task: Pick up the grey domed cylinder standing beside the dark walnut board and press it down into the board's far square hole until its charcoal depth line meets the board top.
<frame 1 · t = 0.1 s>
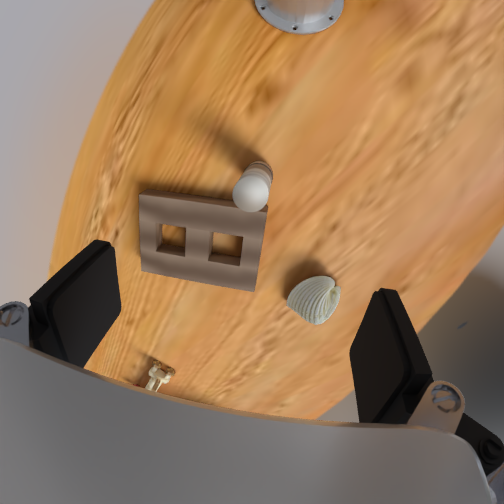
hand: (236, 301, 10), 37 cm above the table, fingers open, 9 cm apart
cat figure: (150, 385, 73), on the table
seashell: (313, 286, 53), on the table
grey domed cylinder: (259, 172, 45), on the table
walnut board: (201, 236, 51), on the table
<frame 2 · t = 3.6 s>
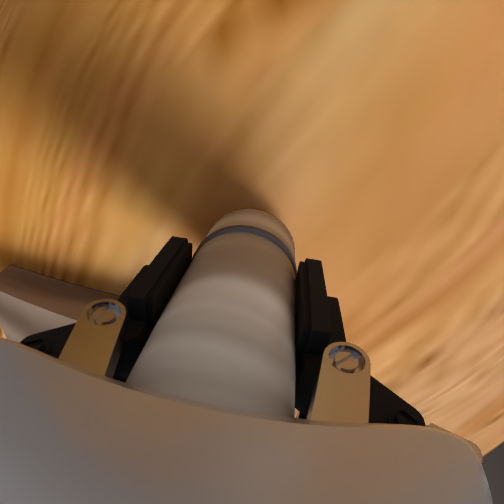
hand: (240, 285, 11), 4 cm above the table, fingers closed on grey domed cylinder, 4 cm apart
grey domed cylinder: (252, 241, 15), on the table, touching gripper
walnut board: (127, 368, 21), on the table
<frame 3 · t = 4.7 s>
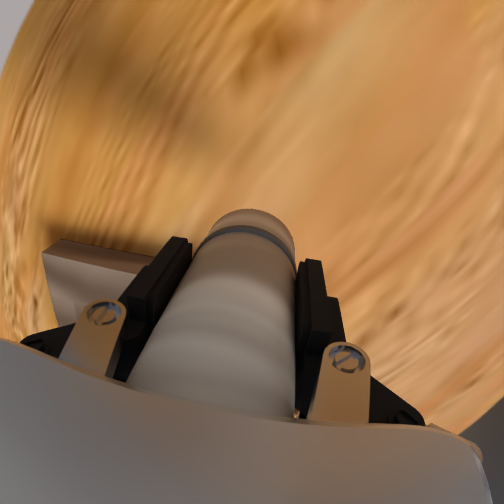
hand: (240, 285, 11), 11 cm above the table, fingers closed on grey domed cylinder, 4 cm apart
grey domed cylinder: (252, 241, 15), point 7 cm above the table, touching gripper
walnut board: (156, 323, 27), on the table
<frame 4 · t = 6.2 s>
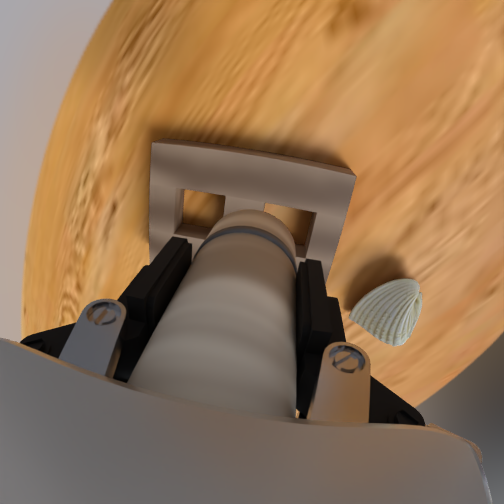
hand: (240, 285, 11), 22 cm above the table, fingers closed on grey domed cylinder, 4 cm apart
seashell: (385, 291, 36), on the table
grey domed cylinder: (253, 242, 15), point 18 cm above the table, touching gripper
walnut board: (245, 212, 33), on the table
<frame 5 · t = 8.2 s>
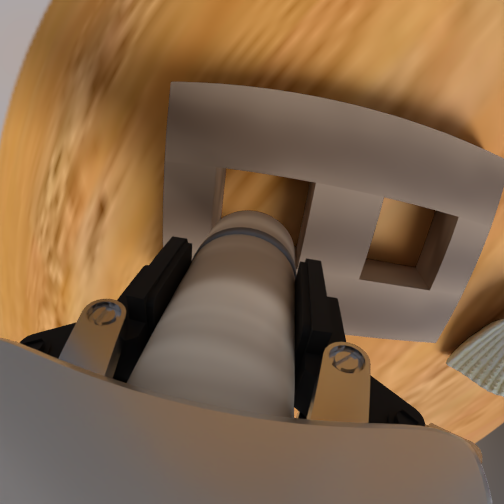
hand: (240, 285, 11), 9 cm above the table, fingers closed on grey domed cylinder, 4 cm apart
seashell: (488, 324, 22), on the table
grey domed cylinder: (252, 243, 15), point 5 cm above the table, touching gripper
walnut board: (333, 215, 19), on the table
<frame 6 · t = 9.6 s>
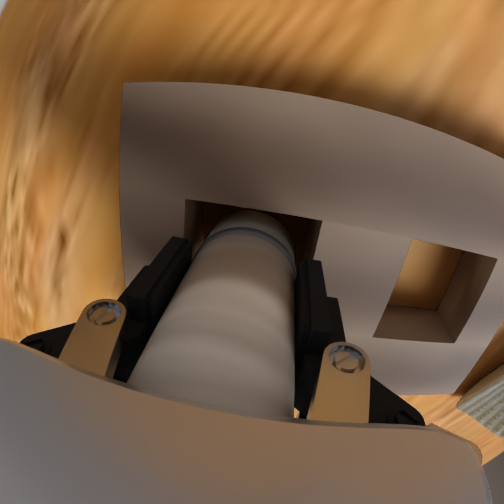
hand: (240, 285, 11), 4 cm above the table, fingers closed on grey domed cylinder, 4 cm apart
grey domed cylinder: (252, 243, 15), resting in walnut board, touching gripper
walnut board: (341, 253, 15), on the table
when the fingers open (4 cm above the table, at t = 10.3 s): grey domed cylinder stays where it is, resting in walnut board.
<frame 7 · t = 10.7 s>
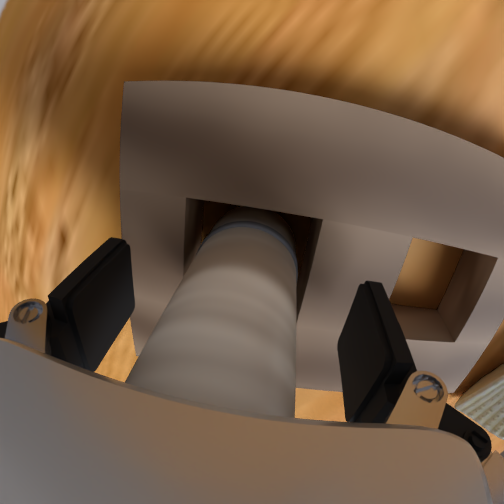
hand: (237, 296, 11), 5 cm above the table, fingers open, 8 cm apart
seashell: (503, 363, 18), on the table
grey domed cylinder: (254, 238, 15), resting in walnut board
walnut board: (342, 252, 15), on the table
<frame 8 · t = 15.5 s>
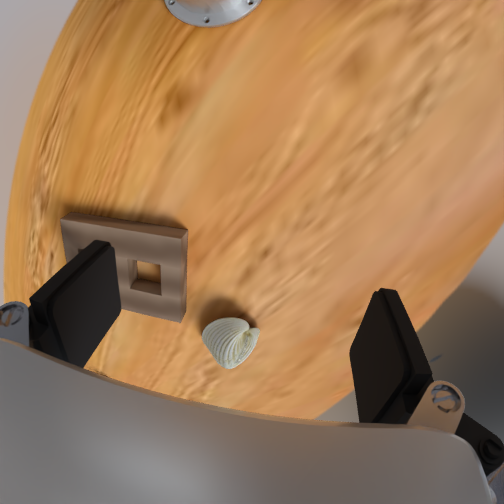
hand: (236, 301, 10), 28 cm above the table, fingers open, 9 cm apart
seashell: (231, 324, 48), on the table
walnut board: (126, 261, 45), on the table
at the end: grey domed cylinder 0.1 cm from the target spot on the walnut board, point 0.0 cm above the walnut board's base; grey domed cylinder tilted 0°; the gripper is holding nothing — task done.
